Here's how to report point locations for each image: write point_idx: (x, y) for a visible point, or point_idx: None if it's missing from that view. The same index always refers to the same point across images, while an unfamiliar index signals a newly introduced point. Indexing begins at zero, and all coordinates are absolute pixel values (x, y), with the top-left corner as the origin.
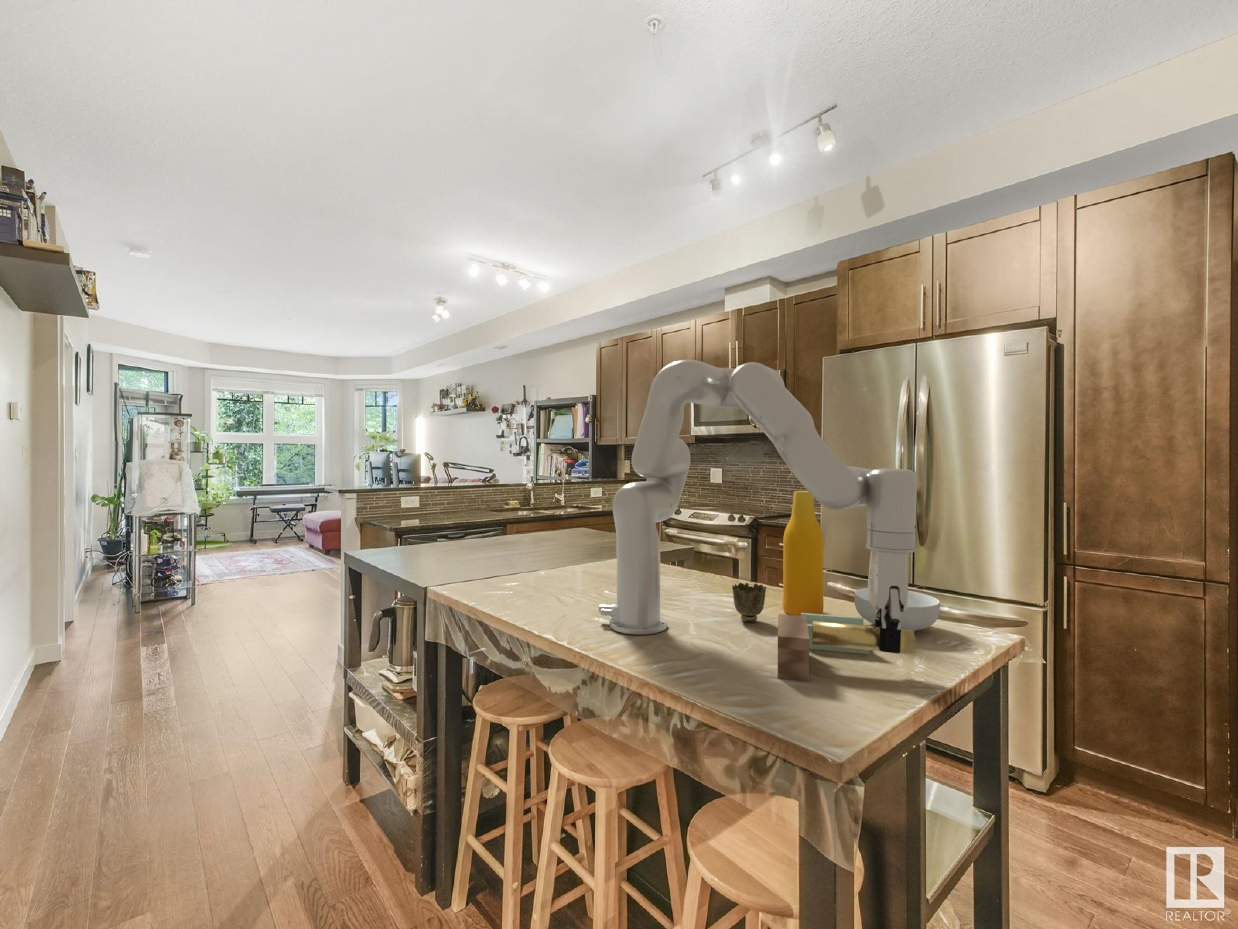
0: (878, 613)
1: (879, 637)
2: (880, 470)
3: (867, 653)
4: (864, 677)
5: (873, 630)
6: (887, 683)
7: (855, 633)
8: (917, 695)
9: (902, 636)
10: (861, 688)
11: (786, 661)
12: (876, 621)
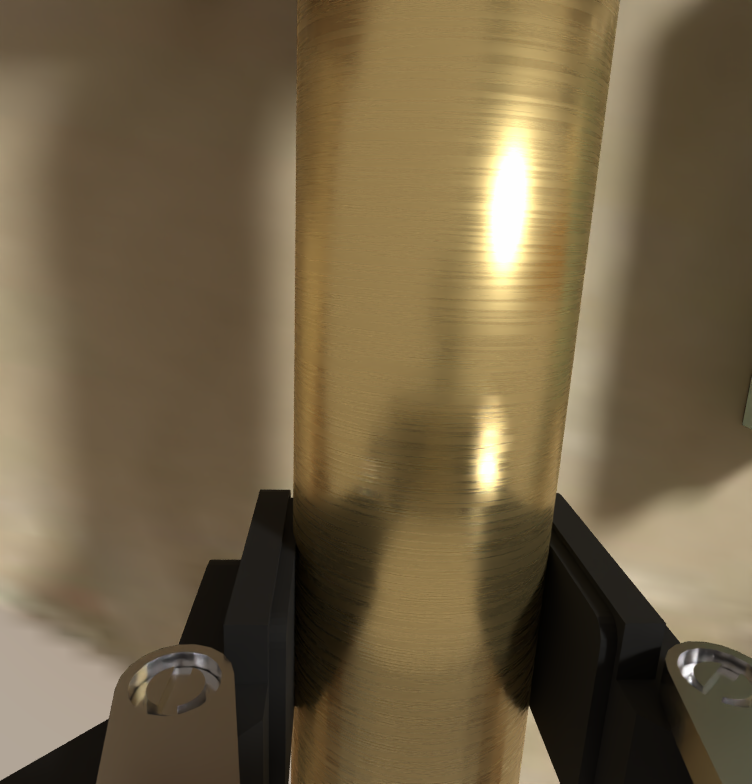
0: (683, 729)
1: (261, 549)
2: None
3: (748, 414)
4: (276, 317)
5: (362, 524)
6: (209, 446)
7: (316, 289)
8: (64, 578)
9: (317, 774)
10: (53, 262)
11: None
12: (610, 621)
